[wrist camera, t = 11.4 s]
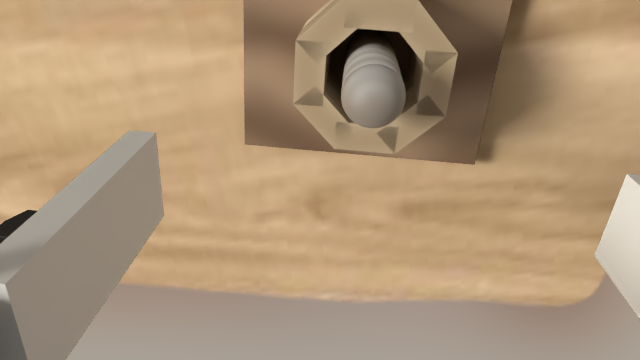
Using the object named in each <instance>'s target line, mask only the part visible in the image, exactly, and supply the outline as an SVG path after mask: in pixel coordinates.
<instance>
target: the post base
mask: <svg viewBox="0 0 640 360" xmlns="http://www.w3.org/2000/svg"><path fill="white" fill-rule="evenodd" d="M328 1H329V0H244V102H245V144H247V145H258V146H270V147H281V148H292V149H304V150H315V151H326V152H338V153H349V154H361V155H372V156H383V157H395V158H406V159H417V160H429V161H440V162H451V163H463V164H474V165H475V160H476V156H477V152H478V147H479V143H480V139H481V134H482V130H483V126H484V121H485V117H486V113H487V108H488V104H489V100H490V95H491V91H492V87H493V82H494V78H495V74H496V69H497V65H498V61H499V56H500V52H501V48H502V43H503V39H504V35H505V30H506V26H507V22H508V17H509V13H510V9H511V4H512V0H419V2H420V3H421V4H422V6H423V7H424V8H425V10H426V11H427V12H428V14H429V15H430V16H431V18H432V19H433V20H434V22H435V23H436V24H437V26H438V27H439V28H440V30H441V31H442V32H443V34H444V35H445V36H446V38H447V39H448V40H449V42H450V43H451V44H452V46H453V47H454V48H455V50H456V51H457V52H458V55H457V60H456V66H455V71H454V76H453V81H452V87H451V92H450V97H449V102H448V108H447V113H446V117H445V118H444V119H442V120H441V121H439V122H438V123H437V124H435V125H434V126H433V127H431V128H430V129H428V130H427V131H426V132H424V133H423V134H422V135H420V136H419V137H417V138H416V139H415V140H413V141H412V142H411V143H409V144H408V145H406V146H405V147H404V148H402V149H401V150H400V151H398V152H397V153H395V154H388V153H377V152H365V151H354V150H342V149H334V148H333V147H332V146H331V145H330V144H329V143H328V142H327V141H326V139H325V138H324V137H323V136H322V135H321V134H320V133H319V132H318V131H317V130H316V129H315V127H314V126H313V125H312V124H311V123H310V122H309V121H308V120H307V119H306V118H305V117H304V115H303V114H302V113H301V112H300V111H299V110H298V109H297V108H296V107H295V106H294V105H293V94H294V68H295V42H296V39H297V37H298V35H299V33H300V32H301V30H302V28H303V27H304V25H305V23H306V22H307V20H308V19H310V18H311V17H312V16H313V15H314V14H315V13H316V12H317V11H318V10H319V9H320V8H322V7H323V6H324V5H325V4H326V3H327V2H328ZM410 54H411V47H410V45H409V44H408V43H407V41H406V40H405V39H404V38H403V36H402V35H401V34H400V32H395V31H383V30H370V29H356V30H355V31H354V32H353V33H352V34H351V35H349V36H348V37H347V38H346V39H345V40H344V41H342V42H341V43H340V44H339V45H338V46H337V47H336V48H334V49H333V50H332V51H331V55H330V68H331V69H332V70H333V71H334V72H335V74H336V75H337V76H338V77H339V78H340V79H341V81H342V90H341V102H342V106H343V109H344V111H345V113H346V114H347V116H348V117H349V118H350V119H351V120H352V121H353V122H354V123H356V124H358V125H360V126H362V127H366V128H380V127H383V126H386V125H388V124H390V123H391V122H393V121H394V120H395V119H396V118H397V117H398V116H399V114H400V113H401V111H402V109H403V107H404V104H405V100H406V90H405V86H404V82H403V79H402V77H404V76H405V75H406V74H407V73H408V68H409V61H410Z"/></svg>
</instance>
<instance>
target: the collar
mask: <svg viewBox="0 0 640 360" xmlns="http://www.w3.org/2000/svg"><path fill="white" fill-rule="evenodd" d="M356 29H370V30H383V31H395V32H400V34H401V35H402V36H403V38H404V39H405V40H406V41H407V43H408V44H409V45H410V47H411V54H410V61H409V68H408V73H407V74H406V75H405V76H404V77H402V79H403V82H404V86H405V90H406V100H405V104H404V107H403V109H402V111H401V113H400V114H399V116H398V117H397V118H396V119H395V120H394V121H393V122H391V123H390V124H388V125H386V126H383V127H380V128H366V127H362V126H360V125H358V124H356V123H354V122H353V121H352V120H351V119H350V118H349V117H348V116H347V114H346V113H345V111H344V109H343V106H342V102H341V90H342V81H341V79H340V78H339V77H338V76H337V75H336V74H335V72H334V71H333V70H332V69H331V68H330V55H331V51H332V50H333V49H334V48H336V47H337V46H338V45H339V44H340V43H341V42H342V41H344V40H345V39H346V38H347V37H348V36H349V35H351V34H352V33H353V32H354V31H355V30H356ZM457 55H458V52H457V51H456V50H455V48H454V47H453V46H452V44H451V43H450V42H449V40H448V39H447V38H446V36H445V35H444V34H443V32H442V31H441V30H440V28H439V27H438V26H437V24H436V23H435V22H434V20H433V19H432V18H431V16H430V15H429V14H428V12H427V11H426V10H425V8H424V7H423V6H422V4H421V3H420V2H419V0H329V1H328V2H327V3H326V4H325V5H324V6H323V7H322V8H320V9H319V10H318V11H317V12H316V13H315V14H314V15H313V16H312V17H311V18H310V19H308V20H307V22H306V23H305V25H304V27H303V28H302V30H301V32H300V33H299V35H298V37H297V39H296V42H295V68H294V94H293V105H294V106H295V107H296V108H297V109H298V110H299V111H300V112H301V113H302V114H303V115H304V117H305V118H306V119H307V120H308V121H309V122H310V123H311V124H312V125H313V126H314V127H315V129H316V130H317V131H318V132H319V133H320V134H321V135H322V136H323V137H324V138H325V139H326V141H327V142H328V143H329V144H330V145H331V146H332V147H333V148H334V149H342V150H354V151H365V152H377V153H388V154H395V153H397V152H398V151H400V150H401V149H402V148H404V147H405V146H406V145H408V144H409V143H411V142H412V141H413V140H415V139H416V138H417V137H419V136H420V135H422V134H423V133H424V132H426V131H427V130H428V129H430V128H431V127H433V126H434V125H435V124H437V123H438V122H439V121H441V120H442V119H444V118H445V117H446V113H447V108H448V102H449V97H450V92H451V87H452V81H453V76H454V71H455V66H456V60H457Z"/></svg>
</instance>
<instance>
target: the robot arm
mask: <svg viewBox="0 0 640 360" xmlns="http://www.w3.org/2000/svg"><path fill="white" fill-rule="evenodd" d="M163 216H164V209H163V199H162V189H161V179H160V169H159V159H158V149H157V139H156V133H153V132H142V131H130V130H129V131H128V132H127V133H126V134H125V135H124V136H123V137H121V138H120V139H119V140H118V141H117V142H116V143H115V144H113V145H112V146H111V147H110V148H109V149H108V150H107V151H105V152H104V153H103V154H102V155H101V156H100V157H99V158H97V159H96V160H95V161H94V162H93V163H92V164H91V165H89V166H88V167H87V168H86V169H85V170H84V171H83V172H82V173H80V174H79V175H78V176H77V177H76V178H75V179H74V180H72V181H71V182H70V183H69V184H68V185H67V186H66V187H64V188H63V189H62V190H61V191H60V192H59V193H58V194H56V195H55V196H54V197H53V198H52V199H51V200H50V201H48V202H47V203H46V204H45V205H44V206H43V207H42V208H40V209H39V210H38V211H33V210H27V211H25V212H23V213H21V214H19V215H16V216H14V217H12V218H10V219H8V220H6V221H4V222H3V223H2V224H1V225H0V360H66V359H67V357H68V356H69V354H70V353H71V351H72V350H73V348H74V347H75V346H76V344H77V343H78V341H79V340H80V338H81V337H82V335H83V334H84V332H85V331H86V329H87V328H88V326H89V325H90V324H91V322H92V321H93V319H94V318H95V316H96V315H97V313H98V312H99V310H100V309H101V307H102V306H103V304H104V303H105V301H106V300H107V298H108V297H109V295H110V294H111V293H112V291H113V290H114V288H115V287H116V285H117V284H118V282H119V281H120V280H121V278H122V277H123V275H124V274H125V272H126V271H127V269H128V268H129V266H130V265H131V263H132V262H133V260H134V259H135V258H136V256H137V255H138V253H139V252H140V250H141V249H142V247H143V246H144V244H145V243H146V241H147V240H148V238H149V237H150V236H151V234H152V233H153V231H154V230H155V228H156V227H157V225H158V224H159V222H160V221H161V219H162V218H163ZM595 257H596V259H597V260H598V261H599V263H600V264H601V266H602V267H603V268H604V270H605V271H606V273H607V274H608V275H609V277H610V278H611V279H612V281H613V282H614V284H615V285H616V286H617V288H618V289H619V291H620V292H621V294H622V295H623V296H624V298H625V299H626V301H627V302H628V303H629V305H630V306H631V308H632V309H633V310H634V312H635V313H636V315H637V316H638V317H639V319H640V175H633V174H627V175H626V178H625V180H624V183H623V185H622V188H621V190H620V193H619V195H618V198H617V200H616V203H615V205H614V208H613V210H612V213H611V215H610V218H609V220H608V223H607V225H606V228H605V230H604V233H603V235H602V238H601V240H600V243H599V245H598V248H597V251H596V253H595Z"/></svg>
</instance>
